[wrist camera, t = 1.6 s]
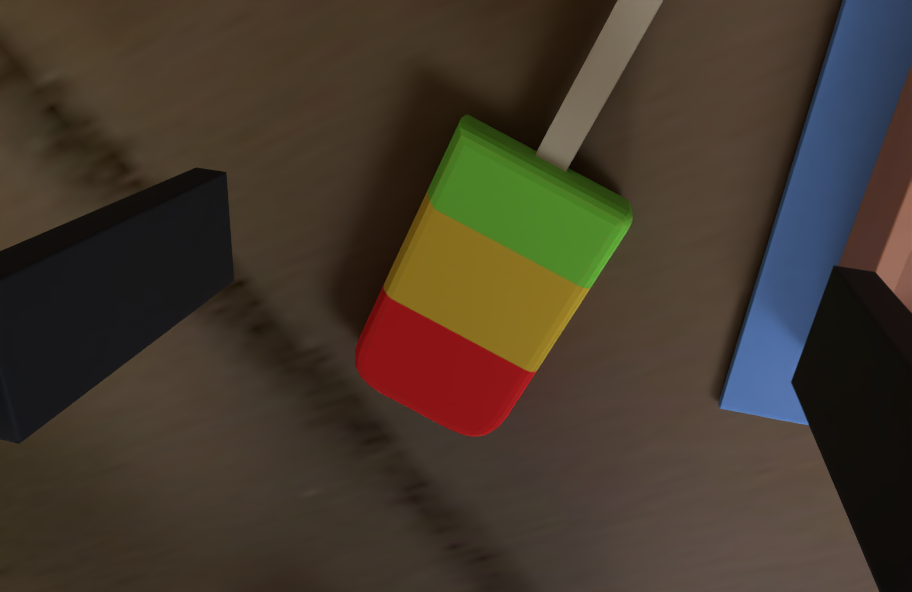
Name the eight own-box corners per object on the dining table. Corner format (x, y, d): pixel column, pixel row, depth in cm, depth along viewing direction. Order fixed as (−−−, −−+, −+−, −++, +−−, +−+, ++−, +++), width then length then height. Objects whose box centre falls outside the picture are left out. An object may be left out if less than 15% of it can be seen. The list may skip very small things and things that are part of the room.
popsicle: (357, 350, 23) (337, 378, 22) (567, -98, 17) (562, -108, 15) (494, 422, 24) (485, 456, 22) (760, 6, 17) (777, 7, 15)
